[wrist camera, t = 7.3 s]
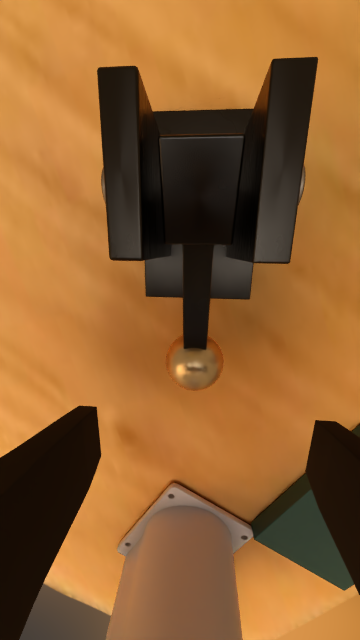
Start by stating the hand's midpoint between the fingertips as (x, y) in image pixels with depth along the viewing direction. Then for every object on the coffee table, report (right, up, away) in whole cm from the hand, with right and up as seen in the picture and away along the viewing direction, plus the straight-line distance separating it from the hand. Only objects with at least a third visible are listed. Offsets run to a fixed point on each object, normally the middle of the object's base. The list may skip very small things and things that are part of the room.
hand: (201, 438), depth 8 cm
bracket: (0, +10, +5) cm, 11 cm away
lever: (0, +6, +3) cm, 7 cm away
